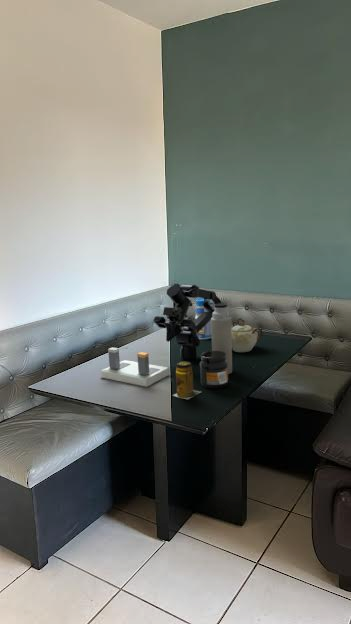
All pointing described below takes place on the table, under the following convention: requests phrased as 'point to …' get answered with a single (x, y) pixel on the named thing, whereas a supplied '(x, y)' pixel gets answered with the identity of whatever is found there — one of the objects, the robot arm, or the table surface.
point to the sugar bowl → (244, 337)
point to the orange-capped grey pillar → (143, 363)
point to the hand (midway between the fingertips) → (167, 341)
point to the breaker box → (135, 373)
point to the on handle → (114, 358)
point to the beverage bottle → (206, 330)
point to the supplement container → (214, 369)
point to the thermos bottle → (222, 332)
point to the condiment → (185, 381)
